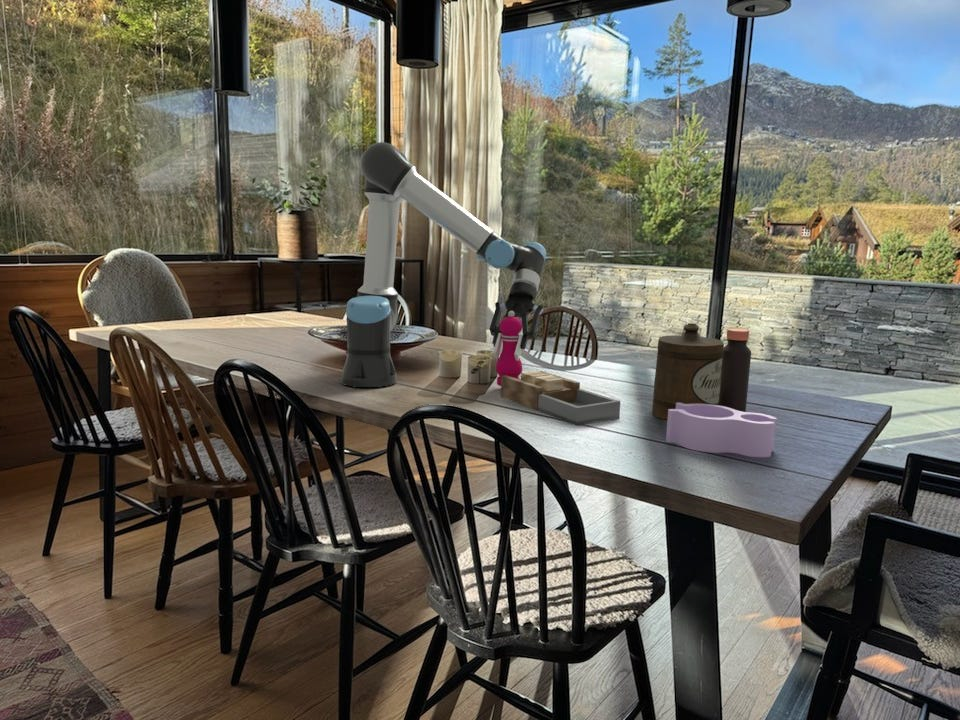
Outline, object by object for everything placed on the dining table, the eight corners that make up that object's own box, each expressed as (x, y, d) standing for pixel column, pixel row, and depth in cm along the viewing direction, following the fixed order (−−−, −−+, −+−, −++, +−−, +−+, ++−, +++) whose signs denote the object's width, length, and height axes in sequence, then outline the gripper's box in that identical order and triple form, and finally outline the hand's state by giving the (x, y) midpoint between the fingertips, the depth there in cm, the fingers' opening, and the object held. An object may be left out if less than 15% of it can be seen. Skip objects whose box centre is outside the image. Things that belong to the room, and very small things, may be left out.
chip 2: (534, 386, 168) (535, 377, 168) (550, 384, 171) (551, 375, 171) (547, 391, 164) (547, 381, 164) (563, 388, 167) (563, 379, 166)
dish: (538, 410, 161) (538, 394, 161) (579, 404, 168) (580, 388, 167) (576, 425, 150) (576, 407, 149) (619, 417, 157) (620, 401, 156)
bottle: (747, 410, 166) (755, 329, 162) (742, 416, 160) (750, 332, 156) (719, 406, 169) (726, 327, 165) (713, 412, 163) (720, 330, 160)
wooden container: (710, 427, 150) (719, 329, 146) (644, 417, 157) (651, 324, 153) (722, 413, 163) (730, 322, 159) (661, 404, 170) (667, 317, 166)
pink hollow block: (775, 446, 139) (779, 413, 137) (767, 463, 128) (771, 428, 127) (677, 430, 148) (679, 400, 147) (662, 445, 138) (664, 412, 136)
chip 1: (520, 382, 173) (521, 372, 173) (536, 380, 176) (536, 370, 176) (532, 386, 169) (532, 376, 169) (548, 384, 172) (548, 374, 171)
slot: (500, 396, 175) (501, 375, 174) (541, 391, 181) (541, 371, 180) (537, 410, 162) (537, 388, 161) (578, 404, 169) (579, 382, 168)
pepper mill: (522, 382, 186) (525, 309, 182) (521, 388, 178) (524, 312, 175) (496, 380, 186) (498, 308, 182) (493, 386, 179) (496, 311, 175)
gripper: (557, 299, 190) (541, 367, 178) (495, 296, 195) (476, 361, 183) (554, 282, 184) (537, 351, 172) (490, 278, 189) (470, 345, 177)
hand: (505, 356), depth 177 cm, fingers closed on pepper mill, 5 cm apart
